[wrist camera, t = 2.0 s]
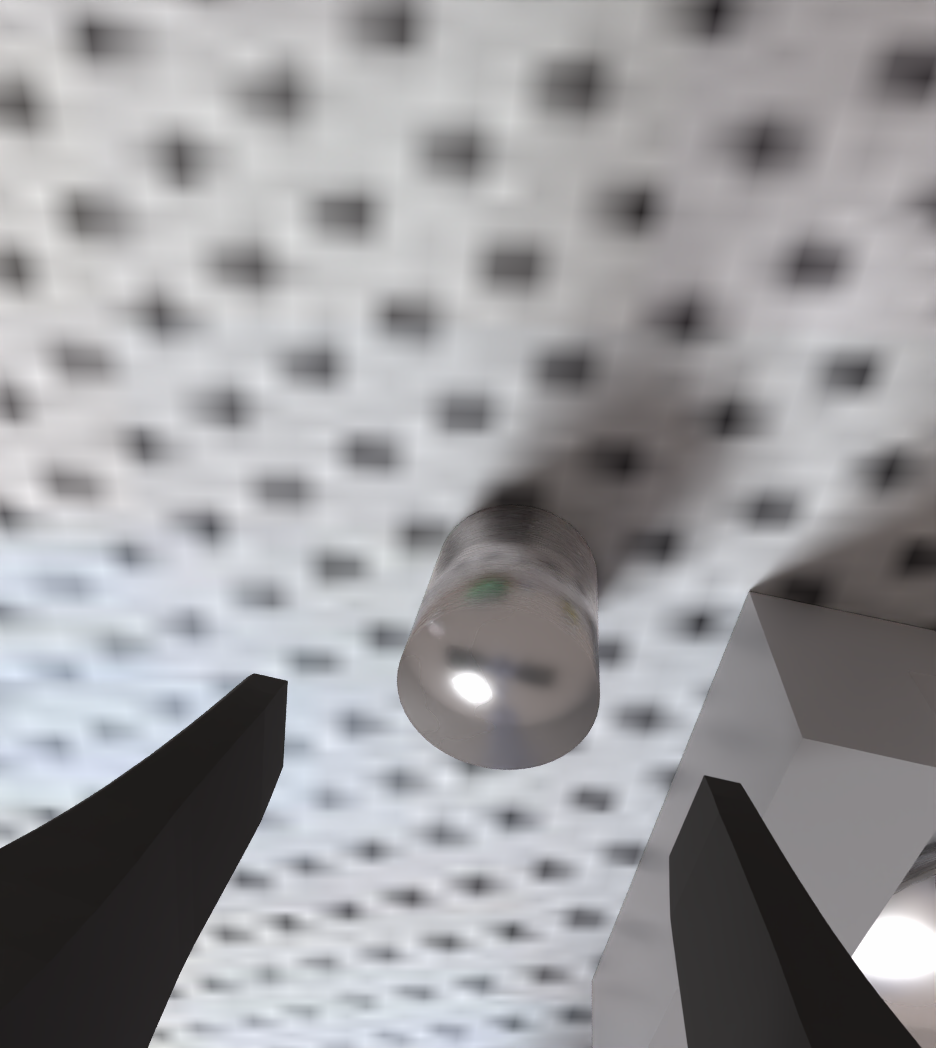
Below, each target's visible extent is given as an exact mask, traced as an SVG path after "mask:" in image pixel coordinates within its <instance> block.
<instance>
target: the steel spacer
mask: <svg viewBox="0 0 936 1048" xmlns="http://www.w3.org/2000/svg"><path fill="white" fill-rule="evenodd" d="M397 687H398V694H399V698H400V702H401V704H402V707H403V709H404V711H405V713H406V715H407V717H408V718H409V720H410V722H411V723H412V724H413V726H414V727H415V728H416V729H417V731H418V732H419V733H420V734H421V735H422V736H423V737H424V738H425V739H426V740H428V741H429V742H430V743H431V744H432V745H434V746H435V747H437V748H438V749H440V750H441V751H443V752H444V753H446V754H448V755H450V756H452V757H454V758H456V759H459V760H461V761H464V762H466V763H469V764H473V765H476V766H480V767H486V768H491V769H503V770H512V769H525V768H531V767H535V766H540V765H543V764H546V763H549V762H552V761H554V760H556V759H558V758H560V757H562V756H564V755H565V754H567V753H568V752H570V751H571V750H572V749H574V748H575V747H576V746H577V745H578V744H579V743H580V742H581V741H582V740H583V739H584V738H585V737H586V735H587V734H588V732H589V731H590V729H591V728H592V726H593V724H594V721H595V719H596V717H597V713H598V708H599V700H600V683H599V638H598V593H597V570H596V564H595V560H594V557H593V555H592V552H591V550H590V548H589V546H588V545H587V543H586V541H585V540H584V539H583V537H582V536H581V535H580V534H579V532H578V531H576V530H575V529H574V528H573V527H572V526H571V525H570V524H569V523H567V522H566V521H564V520H563V519H561V518H560V517H558V516H556V515H554V514H552V513H550V512H547V511H545V510H542V509H539V508H535V507H531V506H524V505H502V506H496V507H491V508H487V509H484V510H482V511H479V512H477V513H475V514H473V515H471V516H469V517H468V518H466V519H465V520H463V521H462V522H461V523H460V524H459V525H457V526H456V527H455V528H454V529H453V531H452V532H451V533H450V534H449V536H448V537H447V539H446V541H445V542H444V544H443V547H442V549H441V551H440V554H439V557H438V560H437V562H436V565H435V568H434V570H433V573H432V576H431V579H430V581H429V584H428V587H427V589H426V592H425V595H424V597H423V600H422V603H421V606H420V608H419V611H418V614H417V616H416V619H415V622H414V625H413V627H412V630H411V633H410V635H409V638H408V641H407V644H406V646H405V649H404V652H403V654H402V657H401V660H400V663H399V668H398V674H397Z"/></svg>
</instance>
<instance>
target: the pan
mask: <svg viewBox="0 0 936 1048" xmlns="http://www.w3.org/2000/svg"><path fill="white" fill-rule="evenodd" d="M852 959H853V960H854V962H855V963H856V964H857V966H858V967H859V969H860V970H861V971H862V973H863V974H864V975H865V977H866V978H867V979H868V981H869V982H870V983H871V985H872V986H873V987H874V989H875V990H876V991H877V993H878V994H879V995H880V997H881V998H882V999H883V1000H884V1002H885V1003H886V1004H887V1005H888V1007H889V1008H890V1009H891V1010H892V1011H893V1013H894V1014H895V1015H896V1016H897V1018H898V1019H899V1020H900V1021H901V1023H902V1024H903V1025H904V1026H905V1028H906V1029H907V1030H908V1031H909V1033H910V1034H911V1035H912V1036H913V1038H914V1039H915V1040H916V1041H917V1043H918V1044H919V1045H920V1046H921V1047H922V1048H936V842H934V843H932V844H929V845H926V846H925V847H924V849H923V850H922V852H921V853H920V855H919V856H918V858H917V859H916V861H915V862H914V864H913V865H912V867H911V868H910V870H909V871H908V873H907V874H906V876H905V877H904V879H903V880H902V882H901V883H900V885H899V886H898V888H897V889H896V891H895V892H894V894H893V895H892V897H891V898H890V900H889V901H888V903H887V904H886V906H885V907H884V909H883V910H882V912H881V913H880V915H879V916H878V918H877V919H876V921H875V922H874V924H873V925H872V927H871V928H870V930H869V931H868V933H867V934H866V936H865V937H864V939H863V940H862V942H861V943H860V945H859V946H858V948H857V949H856V951H855V952H854V954H853V955H852Z"/></svg>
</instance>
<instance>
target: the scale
mask: <svg viewBox="0 0 936 1048" xmlns="http://www.w3.org/2000/svg"><path fill="white" fill-rule="evenodd" d="M704 775H706V776H711V777H715V778H720V779H724V780H729V781H733V782H737V783H741V785H742V786H743V788H744V789H745V791H746V793H747V794H748V796H749V798H750V799H751V801H752V803H753V804H754V806H755V808H756V809H757V811H758V813H759V814H760V816H761V818H762V819H763V821H764V823H765V824H766V826H767V828H768V829H769V831H770V833H771V834H772V836H773V838H774V839H775V841H776V843H777V844H778V846H779V848H780V849H781V851H782V853H783V854H784V856H785V858H786V859H787V861H788V862H789V864H790V866H791V867H792V869H793V870H794V872H795V874H796V875H797V877H798V878H799V880H800V882H801V883H802V885H803V886H804V888H805V889H806V891H807V892H808V894H809V896H810V897H811V899H812V900H813V902H814V903H815V905H816V906H817V908H818V909H819V911H820V913H821V914H822V916H823V917H824V919H825V920H826V922H827V923H828V925H829V926H830V927H831V929H832V930H833V932H834V933H835V935H836V936H837V938H838V939H839V941H840V942H841V943H842V945H843V946H844V948H845V949H846V950H847V952H848V953H849V955H850V956H851V957H852V955H853V954H854V952H855V951H856V949H857V948H858V946H859V945H860V943H861V942H862V940H863V939H864V937H865V936H866V934H867V933H868V931H869V930H870V928H871V927H872V925H873V924H874V922H875V921H876V919H877V918H878V916H879V915H880V913H881V912H882V910H883V909H884V907H885V906H886V904H887V903H888V901H889V900H890V898H891V897H892V895H893V894H894V892H895V891H896V889H897V888H898V886H899V885H900V883H901V882H902V880H903V879H904V877H905V876H906V874H907V873H908V871H909V870H910V868H911V867H912V865H913V864H914V862H915V861H916V859H917V858H918V856H919V855H920V853H921V852H922V850H923V849H924V847H925V846H926V845H929V844H932V843H934V842H936V631H934V630H929V629H924V628H920V627H915V626H910V625H905V624H901V623H896V622H891V621H887V620H882V619H877V618H872V617H868V616H863V615H858V614H853V613H849V612H844V611H839V610H835V609H830V608H825V607H820V606H816V605H811V604H806V603H801V602H797V601H792V600H787V599H783V598H778V597H773V596H768V595H764V594H759V593H754V592H749V593H748V595H747V598H746V600H745V603H744V605H743V608H742V610H741V612H740V615H739V617H738V620H737V622H736V625H735V627H734V630H733V632H732V635H731V637H730V640H729V642H728V645H727V647H726V650H725V652H724V655H723V657H722V660H721V662H720V665H719V667H718V670H717V672H716V674H715V677H714V679H713V682H712V684H711V687H710V689H709V692H708V694H707V697H706V699H705V702H704V704H703V707H702V709H701V712H700V714H699V717H698V719H697V722H696V724H695V727H694V729H693V732H692V734H691V736H690V739H689V741H688V744H687V746H686V749H685V751H684V754H683V756H682V759H681V761H680V764H679V766H678V769H677V771H676V774H675V776H674V779H673V781H672V784H671V786H670V789H669V791H668V794H667V796H666V798H665V801H664V803H663V806H662V808H661V811H660V813H659V816H658V818H657V821H656V823H655V826H654V828H653V831H652V833H651V836H650V838H649V841H648V843H647V846H646V848H645V851H644V853H643V856H642V858H641V860H640V863H639V865H638V868H637V870H636V873H635V875H634V878H633V880H632V883H631V885H630V888H629V890H628V893H627V895H626V898H625V900H624V903H623V905H622V908H621V910H620V913H619V915H618V917H617V920H616V922H615V925H614V927H613V930H612V932H611V935H610V937H609V940H608V942H607V945H606V947H605V950H604V952H603V955H602V957H601V960H600V962H599V965H598V967H597V970H596V972H595V975H594V977H593V979H592V1048H688V1046H687V1039H686V1031H685V1024H684V1017H683V1010H682V1003H681V996H680V989H679V982H678V974H677V967H676V960H675V952H674V945H673V937H672V929H671V921H670V897H669V855H670V853H671V851H672V848H673V846H674V844H675V841H676V839H677V837H678V834H679V832H680V830H681V827H682V825H683V823H684V820H685V818H686V816H687V813H688V811H689V809H690V807H691V804H692V802H693V800H694V797H695V795H696V793H697V790H698V788H699V786H700V783H701V781H702V779H703V776H704Z"/></svg>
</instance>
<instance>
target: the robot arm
mask: <svg viewBox="0 0 936 1048" xmlns="http://www.w3.org/2000/svg"><path fill="white" fill-rule="evenodd" d="M287 685H288V681H286V680H281V679H277V678H272V677H268V676H264V675H259V674H255V673H254V674H252V675H250V676H248V677H247V678H246V679H245V680H243V681H242V682H241V683H240V684H239V685H237V686H236V687H235V688H234V689H233V690H232V691H230V692H229V693H228V694H227V695H226V696H224V697H223V698H222V699H221V700H220V701H219V702H217V703H216V704H215V705H214V706H212V707H211V708H210V709H209V710H208V711H206V712H205V713H204V714H203V715H201V716H200V717H199V718H198V719H196V720H195V721H194V722H193V723H192V724H190V725H189V726H188V727H186V728H185V729H184V730H182V731H181V732H180V733H179V734H177V735H176V736H175V737H173V738H172V739H171V740H169V741H168V742H167V743H166V744H164V745H163V746H162V747H160V748H159V749H158V750H156V751H155V752H154V753H152V754H151V755H150V756H148V757H147V758H145V759H144V760H143V761H141V762H140V763H138V764H137V765H135V766H134V767H133V768H131V769H130V770H128V771H127V772H125V773H124V774H123V775H121V776H120V777H118V778H117V779H115V780H114V781H112V782H111V783H110V784H108V785H107V786H105V787H104V788H102V789H101V790H99V791H98V792H96V793H95V794H93V795H91V796H90V797H88V798H87V799H85V800H84V801H82V802H80V803H79V804H77V805H76V806H74V807H72V808H71V809H69V810H67V811H66V812H64V813H62V814H61V815H59V816H57V817H56V818H54V819H52V820H51V821H49V822H47V823H46V824H44V825H42V826H40V827H39V828H37V829H35V830H33V831H31V832H30V833H28V834H26V835H24V836H22V837H20V838H19V839H17V840H15V841H13V842H11V843H9V844H8V845H6V846H4V847H2V848H0V1048H148V1046H149V1043H150V1041H151V1039H152V1036H153V1034H154V1032H155V1029H156V1027H157V1025H158V1023H159V1020H160V1018H161V1016H162V1013H163V1011H164V1009H165V1006H166V1004H167V1002H168V1000H169V997H170V995H171V993H172V990H173V988H174V986H175V983H176V981H177V979H178V977H179V974H180V972H181V970H182V968H183V966H184V964H185V962H186V960H187V958H188V956H189V954H190V952H191V950H192V948H193V946H194V944H195V942H196V940H197V939H198V937H199V935H200V933H201V931H202V929H203V928H204V926H205V924H206V922H207V920H208V918H209V917H210V915H211V913H212V911H213V909H214V907H215V906H216V904H217V902H218V900H219V898H220V896H221V895H222V893H223V891H224V889H225V887H226V885H227V884H228V882H229V880H230V878H231V876H232V874H233V873H234V871H235V869H236V867H237V865H238V863H239V861H240V860H241V858H242V856H243V854H244V852H245V850H246V849H247V847H248V845H249V843H250V841H251V839H252V837H253V836H254V834H255V832H256V830H257V828H258V826H259V824H260V822H261V820H262V818H263V815H264V813H265V810H266V808H267V806H268V803H269V801H270V798H271V796H272V793H273V791H274V788H275V786H276V783H277V781H278V778H279V776H280V773H281V771H282V768H283V759H284V740H285V722H286V704H287ZM669 897H670V921H671V929H672V937H673V945H674V952H675V960H676V967H677V974H678V982H679V989H680V996H681V1003H682V1010H683V1017H684V1024H685V1031H686V1039H687V1046H688V1048H922V1047H921V1046H920V1045H919V1044H918V1043H917V1041H916V1040H915V1039H914V1038H913V1036H912V1035H911V1034H910V1033H909V1031H908V1030H907V1029H906V1028H905V1026H904V1025H903V1024H902V1023H901V1021H900V1020H899V1019H898V1018H897V1016H896V1015H895V1014H894V1013H893V1011H892V1010H891V1009H890V1008H889V1007H888V1005H887V1004H886V1003H885V1002H884V1000H883V999H882V998H881V997H880V995H879V994H878V993H877V991H876V990H875V989H874V987H873V986H872V985H871V983H870V982H869V981H868V979H867V978H866V977H865V975H864V974H863V973H862V971H861V970H860V969H859V967H858V966H857V964H856V963H855V962H854V960H853V959H852V957H851V956H850V955H849V953H848V952H847V950H846V949H845V948H844V946H843V945H842V943H841V942H840V941H839V939H838V938H837V936H836V935H835V933H834V932H833V930H832V929H831V927H830V926H829V925H828V923H827V922H826V920H825V919H824V917H823V916H822V914H821V913H820V911H819V909H818V908H817V906H816V905H815V903H814V902H813V900H812V899H811V897H810V896H809V894H808V892H807V891H806V889H805V888H804V886H803V885H802V883H801V882H800V880H799V878H798V877H797V875H796V874H795V872H794V870H793V869H792V867H791V866H790V864H789V862H788V861H787V859H786V858H785V856H784V854H783V853H782V851H781V849H780V848H779V846H778V844H777V843H776V841H775V839H774V838H773V836H772V834H771V833H770V831H769V829H768V828H767V826H766V824H765V823H764V821H763V819H762V818H761V816H760V814H759V813H758V811H757V809H756V808H755V806H754V804H753V803H752V801H751V799H750V798H749V796H748V794H747V793H746V791H745V789H744V788H743V786H742V785H741V783H737V782H733V781H729V780H724V779H720V778H715V777H711V776H706V775H704V776H703V779H702V781H701V783H700V786H699V788H698V790H697V793H696V795H695V797H694V800H693V802H692V804H691V807H690V809H689V811H688V813H687V816H686V818H685V820H684V823H683V825H682V827H681V830H680V832H679V834H678V837H677V839H676V841H675V844H674V846H673V848H672V851H671V853H670V855H669Z"/></svg>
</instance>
